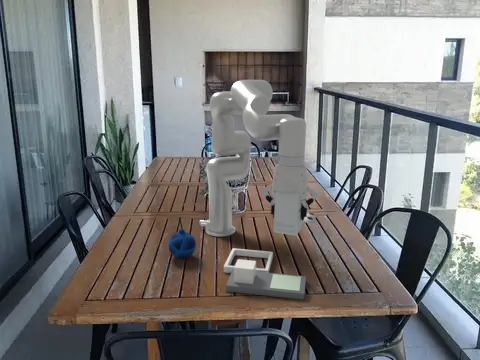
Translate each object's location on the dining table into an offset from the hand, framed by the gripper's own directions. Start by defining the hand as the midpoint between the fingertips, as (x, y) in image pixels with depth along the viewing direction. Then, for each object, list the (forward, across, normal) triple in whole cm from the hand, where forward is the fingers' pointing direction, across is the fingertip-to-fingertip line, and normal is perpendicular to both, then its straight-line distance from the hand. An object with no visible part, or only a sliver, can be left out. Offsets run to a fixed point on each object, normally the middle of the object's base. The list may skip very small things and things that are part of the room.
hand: (288, 217), depth 127 cm
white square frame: (+24, -14, +14) cm, 31 cm away
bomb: (+24, -39, +15) cm, 48 cm away
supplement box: (+4, 0, 0) cm, 4 cm away
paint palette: (+24, -1, +67) cm, 71 cm away
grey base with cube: (+24, -6, 0) cm, 24 cm away
